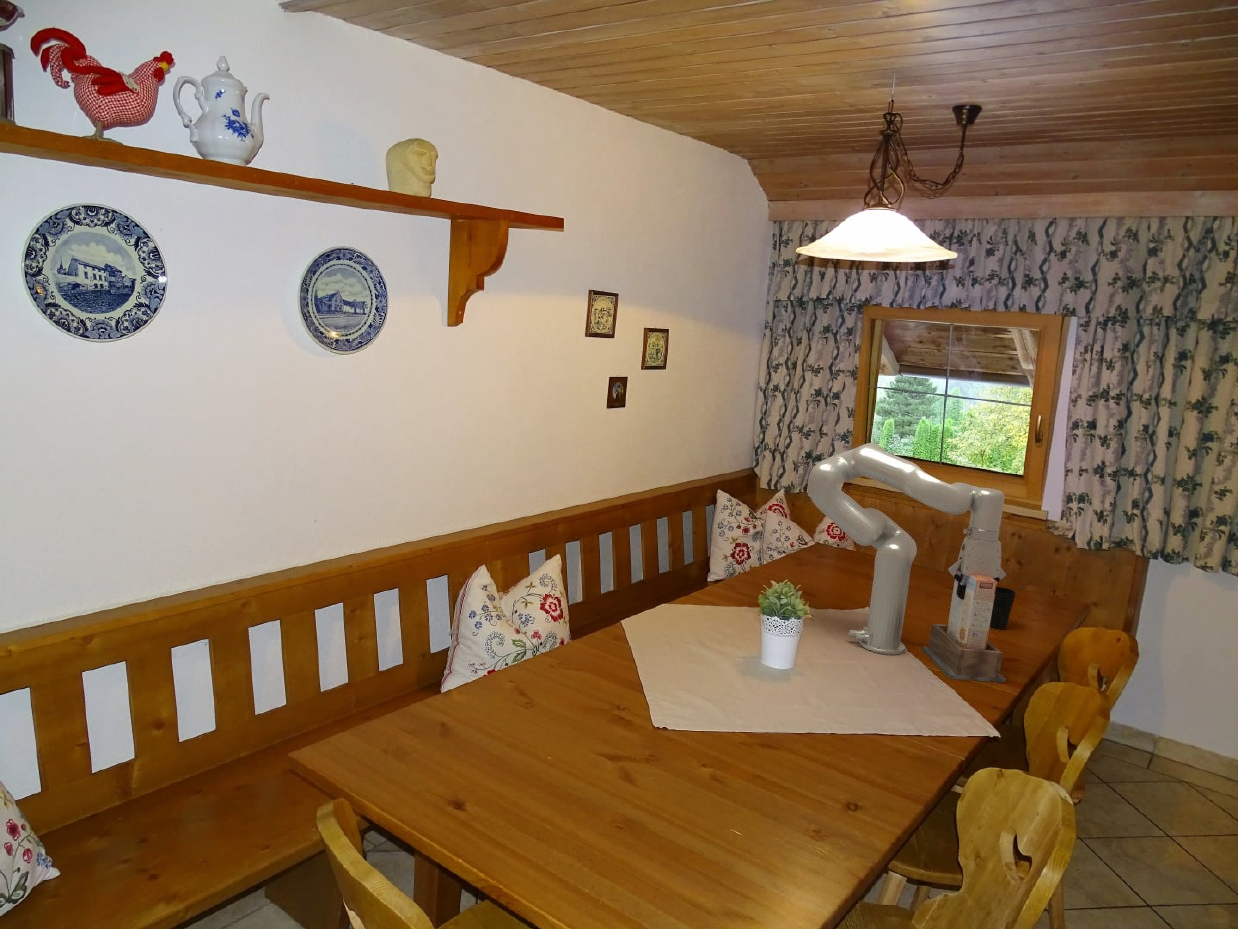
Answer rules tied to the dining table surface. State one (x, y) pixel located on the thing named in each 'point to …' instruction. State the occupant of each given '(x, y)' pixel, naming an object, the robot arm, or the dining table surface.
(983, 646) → the cracker box
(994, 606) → the cup
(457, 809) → the dining table surface
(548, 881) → the dining table surface
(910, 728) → the dining table surface
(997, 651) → the box stand
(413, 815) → the dining table surface
